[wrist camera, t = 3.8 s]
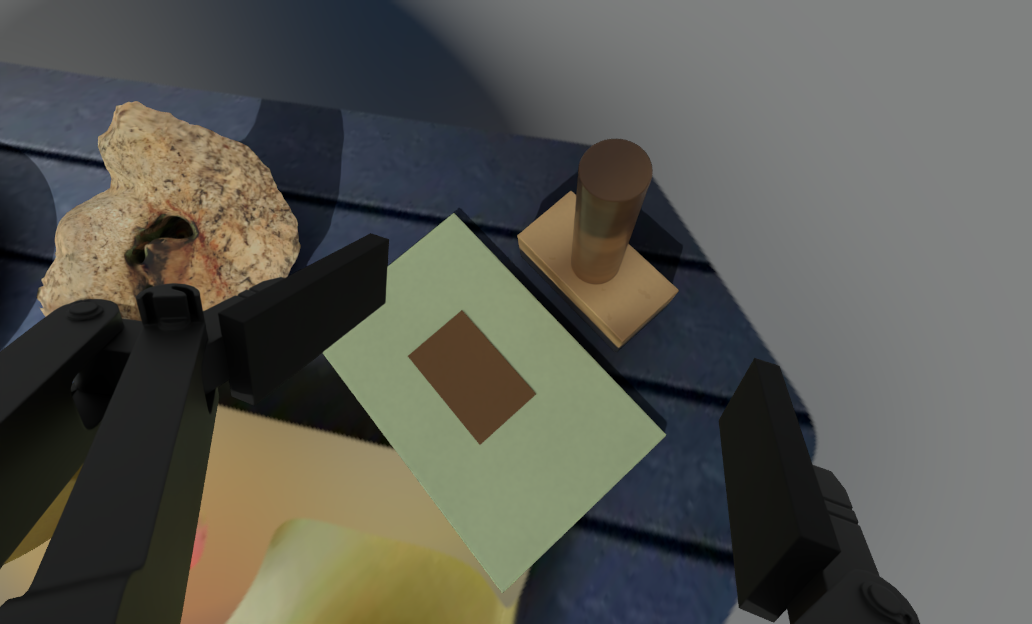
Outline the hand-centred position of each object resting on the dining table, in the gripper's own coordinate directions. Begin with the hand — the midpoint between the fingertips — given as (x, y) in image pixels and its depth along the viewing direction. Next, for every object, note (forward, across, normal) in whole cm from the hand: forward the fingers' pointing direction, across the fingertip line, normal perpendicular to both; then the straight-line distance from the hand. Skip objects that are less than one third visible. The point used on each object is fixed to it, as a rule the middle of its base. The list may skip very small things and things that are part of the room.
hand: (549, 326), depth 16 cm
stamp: (+17, 0, -6) cm, 18 cm away
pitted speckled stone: (+11, -28, -12) cm, 32 cm away
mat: (+10, -5, -12) cm, 17 cm away
